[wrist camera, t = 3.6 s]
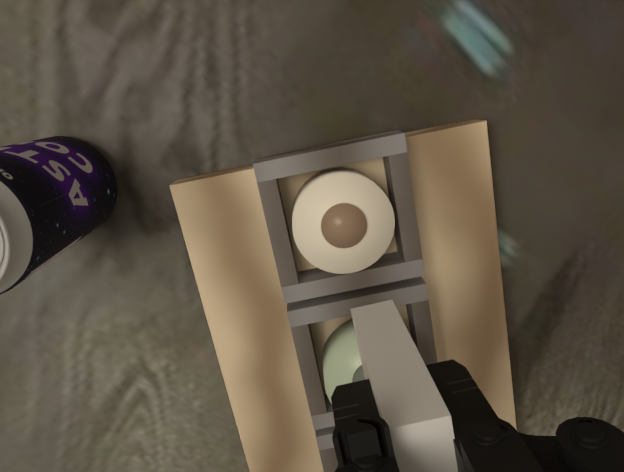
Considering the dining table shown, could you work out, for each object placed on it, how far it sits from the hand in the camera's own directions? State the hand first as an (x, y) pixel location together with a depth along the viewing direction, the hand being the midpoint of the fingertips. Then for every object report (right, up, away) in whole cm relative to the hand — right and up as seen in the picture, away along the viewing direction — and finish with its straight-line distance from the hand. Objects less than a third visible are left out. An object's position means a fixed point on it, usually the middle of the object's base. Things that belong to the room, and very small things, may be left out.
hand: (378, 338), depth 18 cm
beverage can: (-16, +7, +12) cm, 22 cm away
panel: (+1, -3, +16) cm, 16 cm away
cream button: (-1, +5, +11) cm, 12 cm away
